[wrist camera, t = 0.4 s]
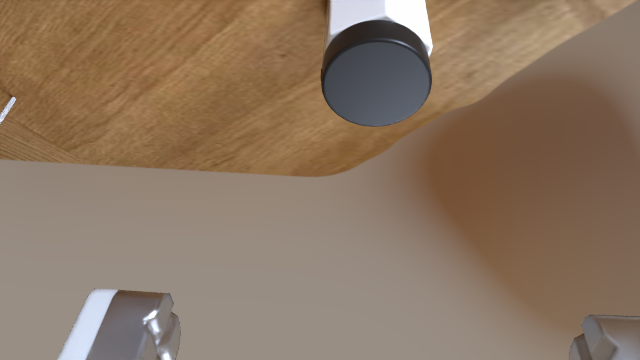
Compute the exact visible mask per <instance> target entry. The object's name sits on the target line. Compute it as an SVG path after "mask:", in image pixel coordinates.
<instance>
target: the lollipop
mask: <svg viewBox="0 0 640 360" xmlns="http://www.w3.org/2000/svg"><path fill="white" fill-rule="evenodd" d="M15 101H16V98H15V97H12V98H11V99H10V101H9V102H8V104H7V105H6V107H5V108H4V110H3V111H2V113H1V114H0V124H1V122H2V121H3V119H4V118H5V116H6V114H7V113H8V111H9V110H10V108H11V107H12V105H13V104H14V102H15Z"/></svg>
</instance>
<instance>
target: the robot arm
mask: <svg viewBox="0 0 640 360" xmlns="http://www.w3.org/2000/svg"><path fill="white" fill-rule="evenodd" d="M173 304H174V303H173V300H172V297H171V295H170V293H156V292H141V291H126V290H125V291H124V290H113V289H94V290H93V291H92V292H91V293H90V294H89V295H88V296H87V298H86V300H85V302H84V304H83V306H82V308H81V311H80V313H79V315H78V317H77V319H76V321H75V323H74V326H73V327H72V330H71V331H70V333H69V336H68V338H67V340H66V342H65V344H64V346H63V348H62V350H61V352H60V355H59V356H58V358H57V360H176V357H177V354H178V350H179V345H180V335H181V330H180V322H179V318H178V316H177V315H175V314H174V313H173V312H171V310H172V307H173ZM581 326H582V329H583V332H584V333H583V334H581V335H579V336H578V337H576V338H574V340H573V342H572V345H571V347H570V352H569V360H640V316H616V315H615V316H614V315H589V316H587V317H585V319H584V321H583V323H582V325H581Z"/></svg>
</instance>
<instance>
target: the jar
mask: <svg viewBox="0 0 640 360" xmlns="http://www.w3.org/2000/svg"><path fill="white" fill-rule="evenodd" d="M432 47H433V46H432V40H431V34H430V28H429V22H428V16H427V10H426V4H425V0H328V3H327V10H326V17H325V31H324V46H323V62H322V69H321V86H322V92H323V95H324V98H325V100H326V102H327V104H328V105H329V107H330V108H331V109H332V110H333V111H334V112H335V113H336V114H337V115H339V116H340V117H342V118H343V119H345V120H347V121H349V122H352V123H355V124H358V125H363V126H373V127H376V126H386V125H391V124H394V123H397V122H400V121H402V120H404V119H406V118H408V117H410V116H411V115H412V114H414V113H415V112H416V111H417V110H418V109H419V108H420V107H421V106H422V105H423V104H424V102H425V101H426V99H427V97H428V95H429V93H430V90H431V84H432V75H431V69H430V62H429V57H430V54H431V51H432Z"/></svg>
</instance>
